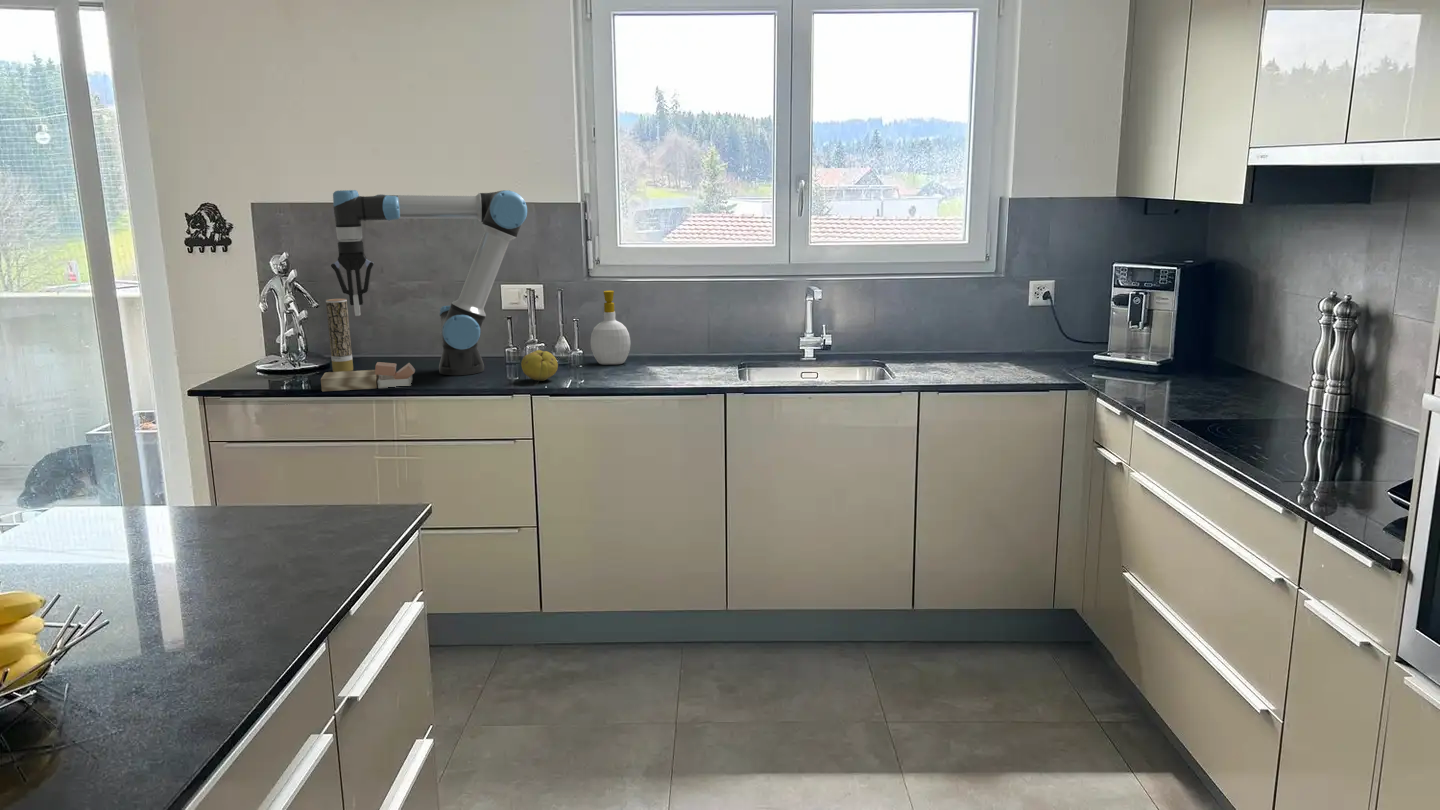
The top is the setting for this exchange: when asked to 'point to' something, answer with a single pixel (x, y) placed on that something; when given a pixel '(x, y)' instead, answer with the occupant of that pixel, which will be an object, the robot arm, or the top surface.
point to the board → (349, 380)
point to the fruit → (539, 365)
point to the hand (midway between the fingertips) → (357, 315)
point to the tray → (393, 381)
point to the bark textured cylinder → (339, 335)
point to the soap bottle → (610, 336)
